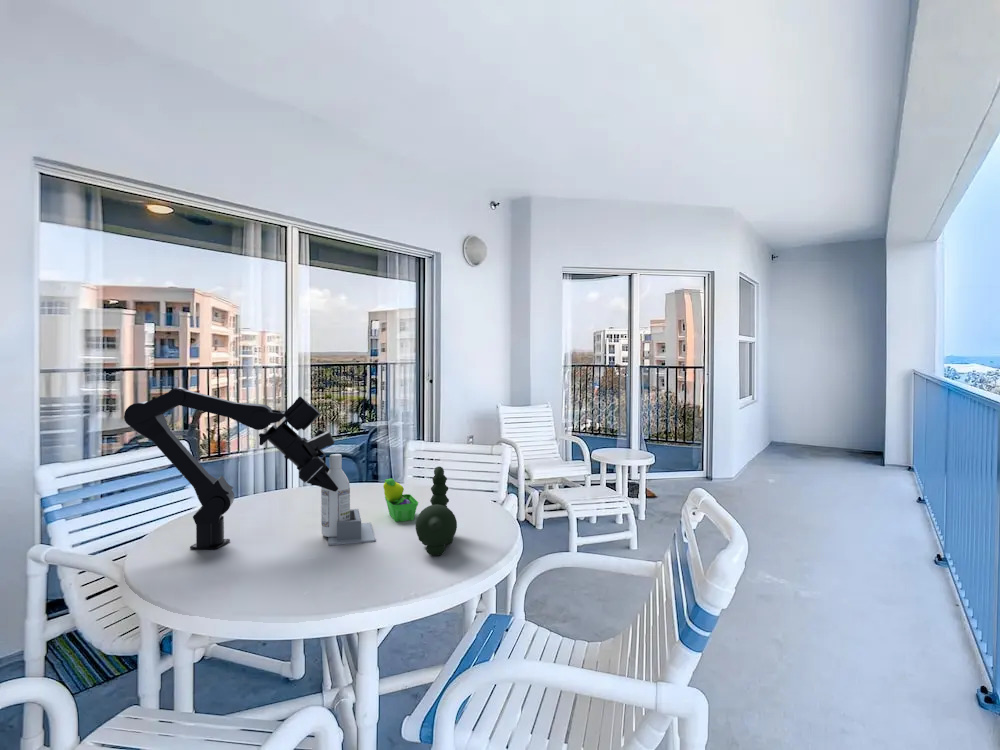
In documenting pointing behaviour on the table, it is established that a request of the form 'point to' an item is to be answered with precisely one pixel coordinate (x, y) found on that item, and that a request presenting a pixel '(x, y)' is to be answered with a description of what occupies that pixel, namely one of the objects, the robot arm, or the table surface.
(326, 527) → the bath foam
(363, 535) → the gray square holder
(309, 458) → the robot arm
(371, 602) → the table surface
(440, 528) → the dark green ornament
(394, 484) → the fruit basket
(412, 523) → the table surface
